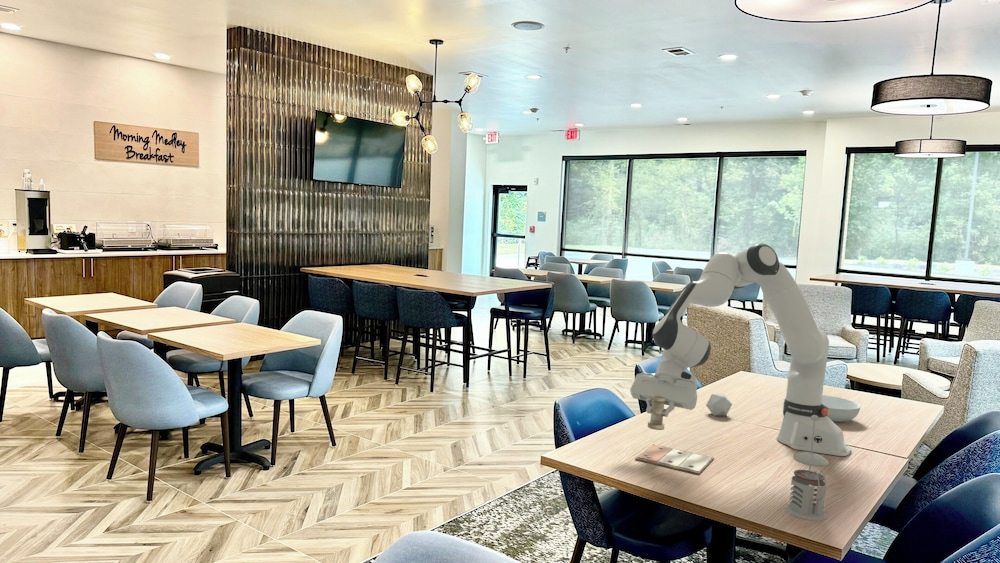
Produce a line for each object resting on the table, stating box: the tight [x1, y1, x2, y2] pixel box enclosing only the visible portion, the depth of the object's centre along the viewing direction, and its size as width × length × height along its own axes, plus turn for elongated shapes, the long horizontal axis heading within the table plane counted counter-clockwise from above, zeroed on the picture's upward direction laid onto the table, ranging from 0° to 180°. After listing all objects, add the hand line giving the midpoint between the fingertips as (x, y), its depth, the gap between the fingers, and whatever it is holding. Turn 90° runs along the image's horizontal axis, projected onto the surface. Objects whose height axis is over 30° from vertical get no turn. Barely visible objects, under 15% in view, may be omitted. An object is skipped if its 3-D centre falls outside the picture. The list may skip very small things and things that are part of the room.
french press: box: [784, 415, 829, 522], centre depth 171 cm, size 10×12×25 cm
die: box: [705, 393, 733, 417], centre depth 262 cm, size 8×9×10 cm
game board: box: [634, 444, 715, 476], centre depth 207 cm, size 19×17×1 cm
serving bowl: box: [822, 394, 861, 423], centre depth 266 cm, size 21×21×7 cm
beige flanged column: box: [647, 396, 666, 431], centre depth 210 cm, size 5×5×9 cm
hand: (656, 413), depth 209 cm, fingers closed on beige flanged column, 4 cm apart
